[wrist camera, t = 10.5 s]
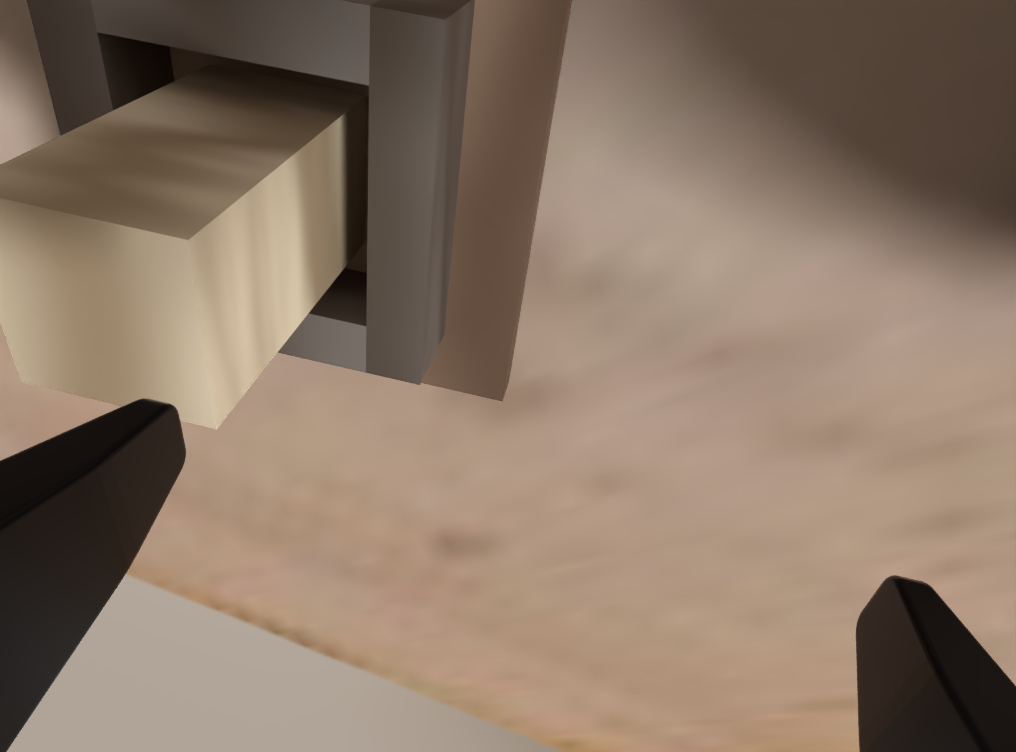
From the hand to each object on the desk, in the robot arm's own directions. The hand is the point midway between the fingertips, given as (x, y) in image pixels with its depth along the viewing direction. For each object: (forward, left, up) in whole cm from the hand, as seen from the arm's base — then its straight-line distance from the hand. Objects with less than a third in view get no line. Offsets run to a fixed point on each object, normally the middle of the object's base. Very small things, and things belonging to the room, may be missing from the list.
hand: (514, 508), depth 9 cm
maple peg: (+8, +1, -11) cm, 14 cm away
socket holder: (+8, +1, -12) cm, 14 cm away
